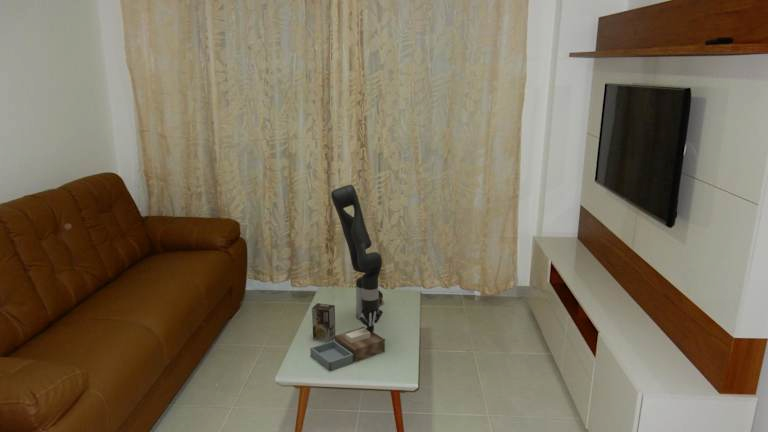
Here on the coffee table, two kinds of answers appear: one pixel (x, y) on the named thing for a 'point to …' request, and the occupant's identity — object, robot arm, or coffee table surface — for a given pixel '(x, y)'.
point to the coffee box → (323, 322)
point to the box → (332, 355)
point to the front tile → (353, 337)
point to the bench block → (362, 345)
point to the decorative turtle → (380, 297)
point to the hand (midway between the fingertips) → (370, 332)
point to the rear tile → (363, 333)
